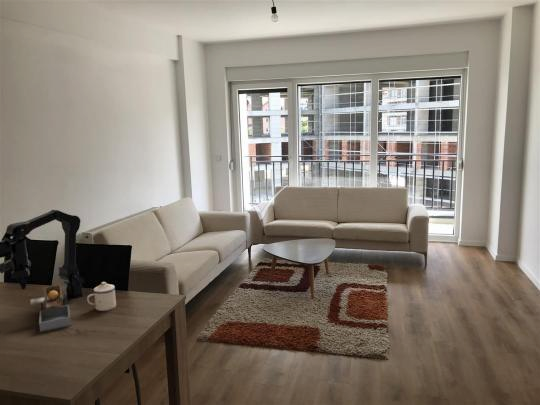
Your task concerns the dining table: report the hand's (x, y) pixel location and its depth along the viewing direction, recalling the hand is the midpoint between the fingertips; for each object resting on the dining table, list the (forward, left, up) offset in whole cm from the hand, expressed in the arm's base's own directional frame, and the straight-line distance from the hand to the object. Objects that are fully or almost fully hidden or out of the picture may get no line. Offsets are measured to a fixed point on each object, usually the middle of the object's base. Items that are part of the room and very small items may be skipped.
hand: (23, 287), depth 185 cm
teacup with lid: (-30, +11, -12) cm, 34 cm away
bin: (-11, +17, -12) cm, 23 cm away
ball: (-11, +6, -4) cm, 13 cm away
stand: (-11, +5, -12) cm, 17 cm away
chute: (-9, +5, -8) cm, 13 cm away
